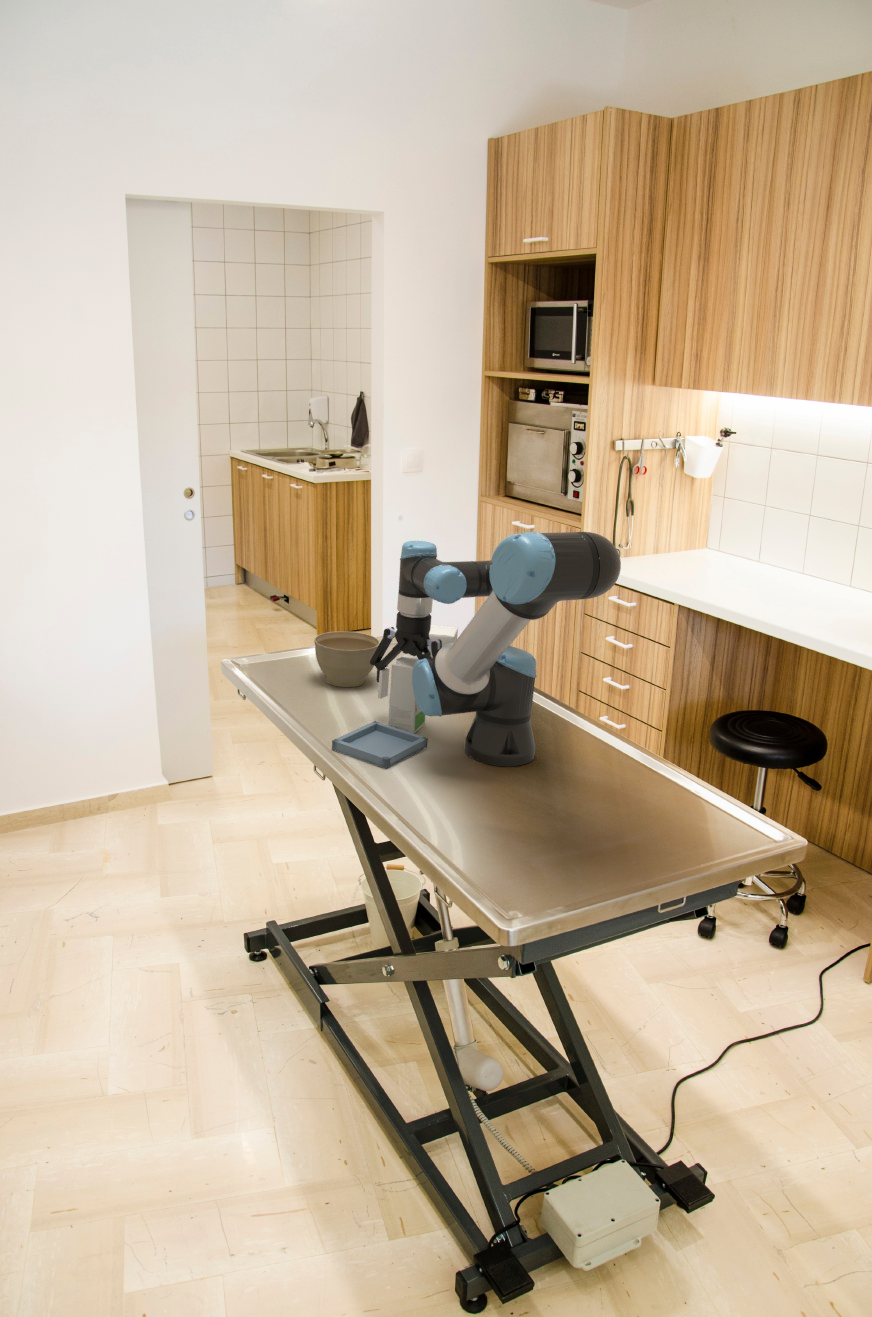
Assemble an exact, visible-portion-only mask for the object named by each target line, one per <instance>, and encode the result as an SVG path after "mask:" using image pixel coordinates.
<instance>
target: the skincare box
mask: <svg viewBox="0 0 872 1317" xmlns="http://www.w3.org/2000/svg"><path fill="white" fill-rule="evenodd" d="M418 660H419V659H418V658H417V656H412V655H407V654H403V655H402V656H401V657H399V658H396V660H395V661H392V662H391V670H390V672H391V673H390V686H389V687H390V691H389V708H388V724H387V725H389V726H392V727H395V728H398V729H401V730H404V731H407V732H410V733H414V734H416V733H417V732H418V731H419V730H420V729H421V728H422V727H423V726H424V725H425V724H426V717H427V715H425V714H424V713H423V712H421V710H420V709H419V707H418V705H417V703H416V700H415V696H414V692H413V685H412V672H413V667H414V665H415V663H416V662H417V661H418Z"/></svg>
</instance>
